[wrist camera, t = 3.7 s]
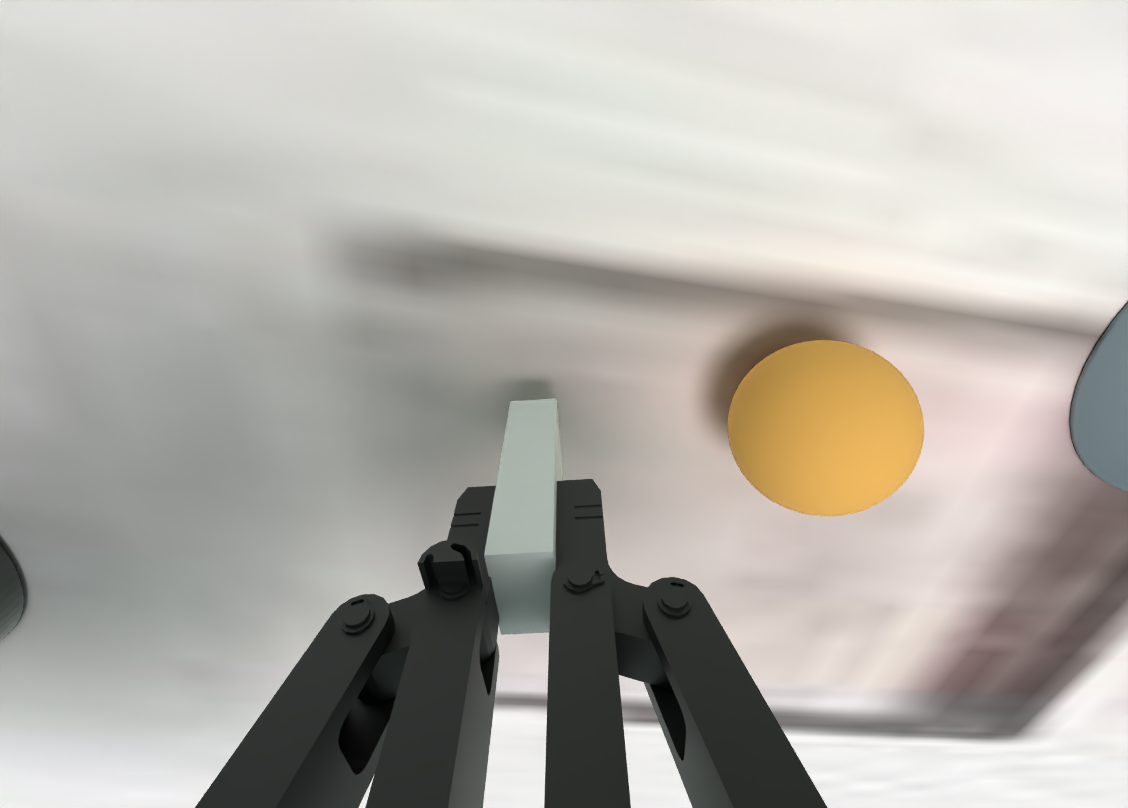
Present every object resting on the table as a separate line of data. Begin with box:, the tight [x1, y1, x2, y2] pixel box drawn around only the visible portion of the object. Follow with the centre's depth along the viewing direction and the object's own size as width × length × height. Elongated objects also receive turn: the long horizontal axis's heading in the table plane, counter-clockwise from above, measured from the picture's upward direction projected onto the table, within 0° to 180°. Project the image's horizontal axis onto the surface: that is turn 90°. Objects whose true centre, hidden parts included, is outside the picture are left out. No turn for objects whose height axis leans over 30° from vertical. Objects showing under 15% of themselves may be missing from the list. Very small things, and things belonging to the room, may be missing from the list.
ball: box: [728, 340, 924, 516], centre depth 17 cm, size 6×6×6 cm
